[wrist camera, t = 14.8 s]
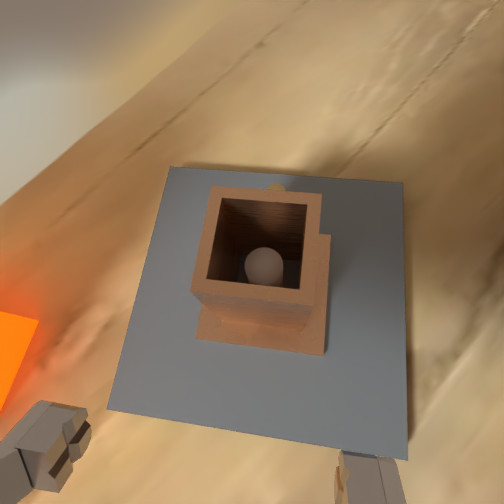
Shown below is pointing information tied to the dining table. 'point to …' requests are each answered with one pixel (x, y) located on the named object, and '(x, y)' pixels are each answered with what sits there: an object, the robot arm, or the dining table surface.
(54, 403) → the robot arm
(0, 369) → the orange juice
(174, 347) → the base plate
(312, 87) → the dining table surface
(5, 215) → the dining table surface
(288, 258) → the copper sleeve
